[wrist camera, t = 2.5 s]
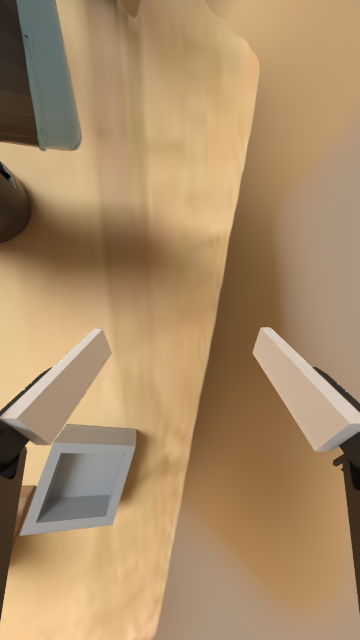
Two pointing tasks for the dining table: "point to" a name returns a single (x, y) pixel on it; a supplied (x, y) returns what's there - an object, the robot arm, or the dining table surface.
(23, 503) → the grey square socket
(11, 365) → the dining table surface
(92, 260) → the dining table surface
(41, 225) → the dining table surface
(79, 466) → the tray
